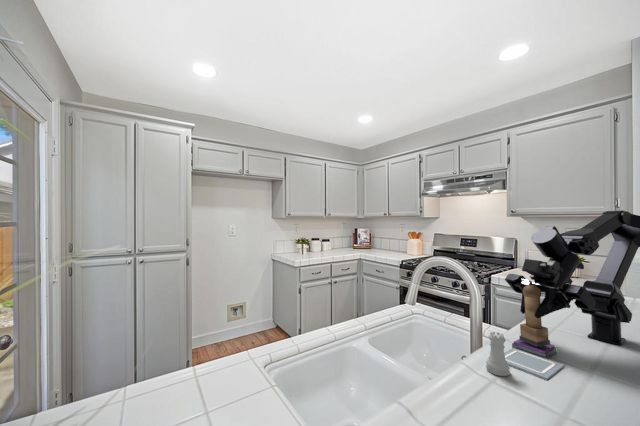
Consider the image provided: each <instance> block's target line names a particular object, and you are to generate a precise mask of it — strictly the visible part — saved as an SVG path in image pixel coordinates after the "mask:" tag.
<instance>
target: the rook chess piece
mask: <svg viewBox="0 0 640 426" xmlns="http://www.w3.org/2000/svg"><path fill="white" fill-rule="evenodd" d="M487 338H488V339H489V340H490V342H489V346H490V351H489V356H488V357H487V358H488V359H486V360H485V363H486V365H485V368H486V370H487V371H488V372H489V373H490V374H492V375H495V376H497V377H507V376H509V375H510V374H511V371H510V368H511V366H509V365H508V364H507V361H506V359H505V355H504V353H505V348H506V346H505V345H504V344H505V343H506V341H507V340H506V338H505V335H504V334H503V333H500V332H495V331H492V332H489V335H488V337H487Z"/></svg>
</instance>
